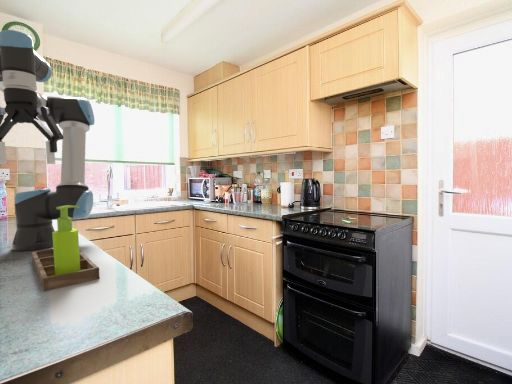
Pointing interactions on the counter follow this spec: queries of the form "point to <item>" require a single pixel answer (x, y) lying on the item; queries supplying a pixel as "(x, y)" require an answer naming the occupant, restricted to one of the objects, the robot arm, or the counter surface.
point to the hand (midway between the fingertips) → (26, 164)
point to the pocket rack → (49, 281)
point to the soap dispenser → (66, 244)
